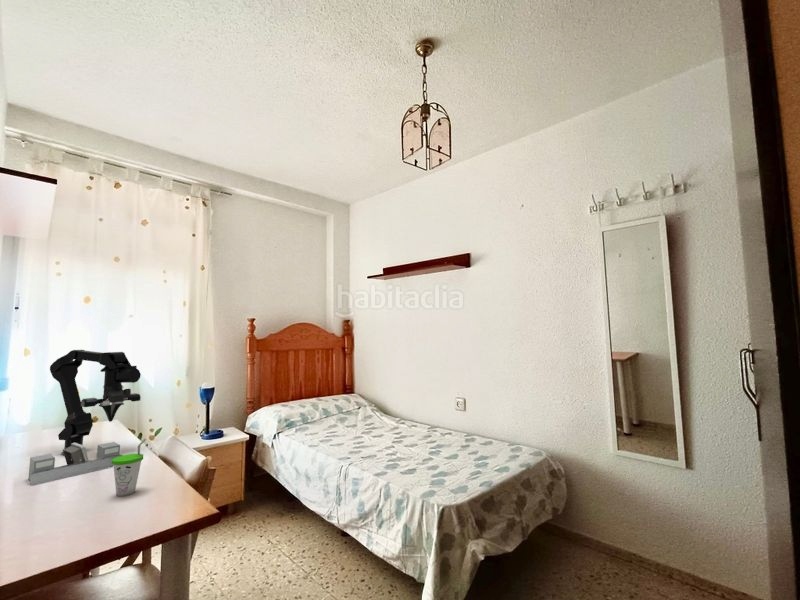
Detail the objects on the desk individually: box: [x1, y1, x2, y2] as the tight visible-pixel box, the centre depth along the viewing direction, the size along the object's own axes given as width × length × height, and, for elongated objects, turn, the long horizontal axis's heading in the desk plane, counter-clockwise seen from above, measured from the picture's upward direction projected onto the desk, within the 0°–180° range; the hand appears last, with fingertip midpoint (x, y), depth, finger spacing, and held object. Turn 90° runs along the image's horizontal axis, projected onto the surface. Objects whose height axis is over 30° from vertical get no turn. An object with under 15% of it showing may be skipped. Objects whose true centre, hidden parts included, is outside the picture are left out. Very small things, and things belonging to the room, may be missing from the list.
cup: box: [112, 438, 147, 497], centre depth 111 cm, size 8×8×15 cm
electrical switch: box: [62, 443, 90, 465], centre depth 132 cm, size 9×5×9 cm, turn 58°
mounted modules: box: [27, 441, 121, 482], centre depth 130 cm, size 7×23×7 cm, turn 142°
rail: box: [29, 453, 123, 486], centre depth 128 cm, size 2×24×4 cm, turn 142°
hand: (110, 421), depth 151 cm, fingers closed
